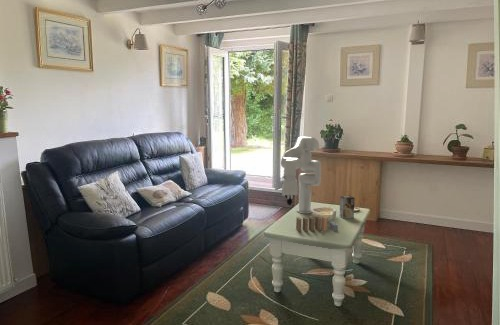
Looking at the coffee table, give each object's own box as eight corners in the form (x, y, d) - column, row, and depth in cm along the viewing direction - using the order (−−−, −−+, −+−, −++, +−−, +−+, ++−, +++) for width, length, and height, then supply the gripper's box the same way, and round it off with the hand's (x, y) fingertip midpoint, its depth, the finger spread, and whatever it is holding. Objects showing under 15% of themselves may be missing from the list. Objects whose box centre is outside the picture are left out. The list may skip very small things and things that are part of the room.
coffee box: (350, 215, 280) (351, 195, 277) (353, 218, 274) (355, 197, 271) (339, 216, 278) (340, 196, 275) (342, 218, 272) (343, 198, 269)
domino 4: (314, 228, 250) (315, 216, 249) (317, 228, 251) (318, 215, 249) (317, 231, 245) (317, 218, 243) (320, 231, 245) (320, 218, 244)
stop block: (329, 227, 253) (329, 221, 252) (333, 226, 254) (333, 221, 253) (333, 231, 245) (333, 225, 245) (337, 230, 246) (337, 225, 245)
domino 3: (308, 228, 250) (309, 216, 248) (311, 228, 250) (311, 216, 248) (311, 231, 244) (311, 218, 243) (313, 231, 245) (314, 218, 243)
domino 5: (320, 228, 251) (321, 215, 250) (323, 227, 251) (324, 215, 250) (323, 230, 246) (324, 218, 244) (326, 230, 246) (327, 218, 245)
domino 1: (296, 229, 248) (296, 216, 247) (298, 229, 249) (299, 216, 247) (298, 232, 243) (298, 219, 242) (301, 231, 243) (301, 219, 242)
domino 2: (302, 228, 249) (302, 216, 248) (305, 228, 249) (305, 216, 248) (304, 231, 244) (305, 219, 242) (307, 231, 244) (308, 219, 242)
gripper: (280, 179, 234) (279, 206, 237) (302, 178, 236) (301, 205, 239) (277, 176, 241) (277, 203, 244) (299, 176, 243) (298, 202, 246)
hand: (289, 204), depth 242 cm, fingers closed
